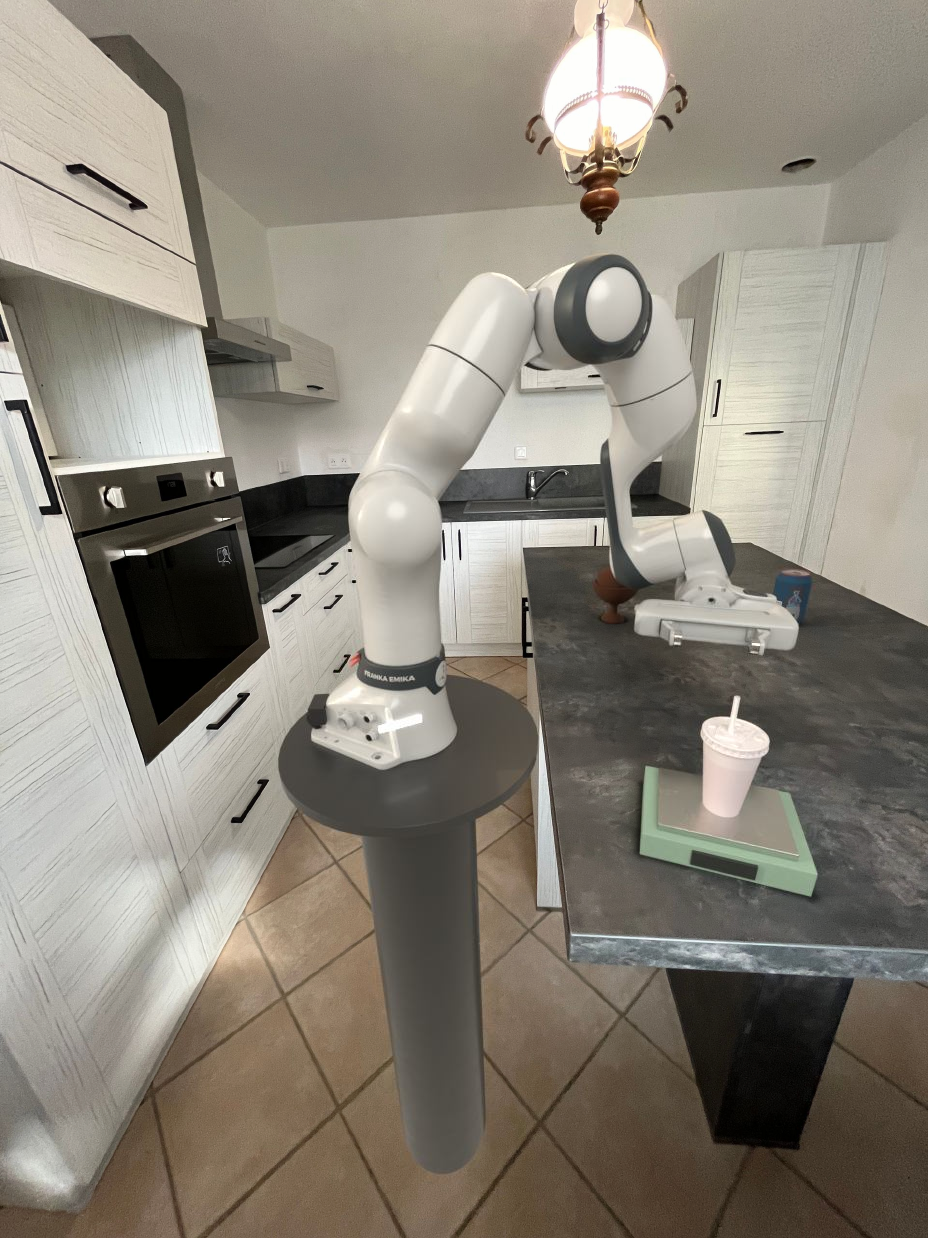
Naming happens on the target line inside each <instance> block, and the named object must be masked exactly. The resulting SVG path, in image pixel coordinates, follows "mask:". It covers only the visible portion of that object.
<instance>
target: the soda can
mask: <svg viewBox="0 0 928 1238" xmlns="http://www.w3.org/2000/svg"><path fill="white" fill-rule="evenodd" d="M811 575H812V573H811V572H810V571H808V570H804V569H799V568H783V569H781V570H780V571H779V574H777V576H776V577H775V582H774V587H773V591H772V595H774V596H775V597H776V598H777V603H776V604H778V605H780V606H782V607H784V608H785V609H787V610H788V611H789V612H790V614H791V615H792V616H793V617H794V618H795V620H796V621H797V623H798V625H800V624H801V623H802V622H803V621H804V620H805V616H806V612H807V607H808V603H809V599H810V594H811V589H812V586H813V585H812V584H813V579H812V576H811Z"/></svg>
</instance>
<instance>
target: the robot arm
mask: <svg viewBox="0 0 928 1238" xmlns="http://www.w3.org/2000/svg"><path fill="white" fill-rule="evenodd" d="M589 366H592V367H593V368H594V369H595V370H596V372H597V373H598V375H599V376H600V379H601V380H602V382H603V387H604V391H605V394H606V398H607V402H608V405H609V409H610V414H611V426H610V432H609V436H608V437H607V439H606V440H605V441H603V443H602V444H601V447H600V454H599V455H600V456H599V460H600V461H599V465H600V466H599V467H600V476H601V477H600V478H601V486H602V493H603V502H604V508H605V509H604V510H605V515H606V523H607V530H608V537H609V555H608V557H609V566H610V567H611V571H612V573H613V576H614V577H615V579H616V581H617V582H618V583H619V584H621V585H623V586H625V587H627V588H630V589H633V590H638V591H639V590H642V589H645V588H649V587H651V586H654V585H656V584H658V583H664V582H666V581H671V580H675V579H676V581H675V584H674V585H675V586H674V599H673V600H672V599H662V598H661V599H660V598H647V599H644V600H642V601H641V602H640V603H637V604H635V606H634V609H633V611H634V614H635V617H634V627H633V631H634V632H635V634H637V635H639V636H643V637H651V638H652V637H653V638H662V639H663V640H664V641H666V642H668V646H672V647H681V646H682V641H689V642H690V641H691V642H698V643H699V642H702V643H710V644H720V645H728V646H737V647H738V646H739V647H747V652H748V654H749V655H753V656H762V657H763V655H764V653H765V650H767V649H768V650H776V651H784V652H785V651H791V650H792V649H794V648H795V646H796V644H797V639H798V635H799V629H800V627H799V624H798V623H797V621H796V620H795V618H794V617H793V616H792V615H791V614H790V612H789V611H788V610H787V609H785V608H784V607H782V606H780V605H778V604H776V603H777V598H776V597H775V596H774V595H773V593H772V594H771V593H768V592H767V593H766V592H764V591H763V592H761V591H758V590H752V589H746V588H743V587H739V586H737V585H735V584H732V582H731V580H730V578H729V577H730V576H731V575H732V573H733V572H734V569H735V567H736V562H737V561H736V552H735V549H734V544H733V541H732V538H731V536H730V534H729V532H728V529H727V527H726V525H725V523H724V522H723V520H722V518H720V517H719V516H717V515H716V514H714V513H713V512H711V511H709V510H705V509H702V510H698V511H694V512H691V513H687V514H684V515H681V516H677V517H673V518H672V519H669V520H666V521H662V522H659V523H656V524H652V525H649V526H645V527H635V526H634V524H633V513H632V505H631V496H630V489H631V486H632V484H633V482H634V481H635V479H636V478H637V477H638V475H640V473H642V472H643V471H644V470H645V469H646V468H647V467H649V465H650V464H652V463H653V462H654V461H656V460H658V458H660V457H661V456H662V455H664V454H665V453H666V452H668V451H669V450H670V449H671V448H672V447H674V446H675V445H676V444H677V443H678V442H679V441H680V439H682V437H683V436H684V435H685V433H686V432H687V431H688V429H689V428H690V426H691V424H692V422H693V420H694V418H695V415H696V412H697V408H698V407H697V406H698V401H697V400H698V399H697V390H696V384H695V383H696V381H695V376H694V373H693V366H692V363H691V359H690V355H689V351H688V348H687V345H686V341H685V339H684V335H683V333H682V330H681V327H680V325H679V322H678V320H677V318H676V316H675V314H674V311H673V310H672V306H671V305H670V304H669V302H668V300H667V299H666V298H664V297H663V296H661V295H659V294H654V293H650V291H649V290H648V287H647V285H646V282H645V280H644V278H643V275H642V274H641V273H640V271H639V270H638V268H637V267H636V266H635V265H634V264H633V262H631V261H630V260H629V259H627V258H626V257H624V256H622V255H619V254H615V253H606V252H605V253H596V254H589V255H587V256H585V257H582V258H581V259H579V260H578V261H576V262H574V263H571V264H568V265H566V266H563V267H559V268H557V269H554V270H552V271H551V272H549V273H547V274H546V275H544V276H543V277H541V278H540V279H539V280H537V281H536V282H534V283H532V284H530V285H528V286H527V287H522V286H521V284H519V283H518V282H517V281H516V280H514V279H513V278H512V277H510V276H507V275H505V274H502V273H499V272H491V271H487V272H482V273H480V274H477V275H476V276H474V277H473V278H471V279H470V280H469V282H467V284H466V285H465V286H464V287H463V289H462V290H461V291H460V293H458V295H457V297H456V298H455V300H454V301H453V302H452V304H451V305H450V306H449V308H448V309H447V311H446V312H445V314H444V315H443V317H442V318H441V320H440V322H439V324H438V325H437V327H436V329H435V330H434V332H433V334H432V336H431V338H430V339H429V341H428V343H427V345H426V347H425V349H424V350H423V354H422V355H421V357H420V359H419V361H418V363H417V365H416V367H415V370H414V371H413V373H412V375H411V377H410V379H409V381H408V382H407V385H406V387H405V389H404V391H403V392H402V395H401V397H400V399H399V400H398V403H397V405H396V406H395V409H394V410H393V412H392V414H391V416H390V418H389V420H388V421H387V423H386V425H385V427H384V429H383V430H382V432H381V434H380V436H379V438H378V440H377V442H376V443H375V445H374V447H373V449H372V451H371V452H370V454H369V456H368V458H367V460H366V462H365V464H363V465H364V466H363V468H362V469H361V471H360V473H359V475H358V477H357V478H356V480H355V483H354V485H353V487H352V488H351V490H350V494H349V496H348V504H347V505H348V512H347V514H348V528H349V537H350V544H351V545H350V546H351V553H352V559H353V561H352V562H353V568H354V576H355V583H356V591H357V600H358V608H359V615H360V624H361V625H360V626H361V633H362V641H363V647H362V648H360V649H359V650H357V652H356V655H354V656H352V657H351V658H350V659H349V660H348V661H349V662H351V663H350V664H349V667H350V668H352V667H354V666H355V665H357V664H358V665H357V669H356V670H355V671H354V672H353V673H352V674H350V675H349V676H348V677H347V678H346V679H344V680H343V681H342V682H341V683H340V684H338V685H337V686H336V687H335V688H334V689H333V690H332V691H331V692H330V693H317V694H316V693H315V694H314V695H313V697H312V698H311V701H310V703H309V706H308V708H307V711H306V712H307V715H306V719H307V721H308V723H309V724H310V725H311V726H312V727H313V729H312V732H311V740H312V741H313V742H315V743H317V744H320V745H322V746H324V747H327V748H329V749H331V750H334V751H336V752H339V753H341V754H343V755H346V756H348V757H351V758H353V759H355V760H358V761H360V762H363V763H365V764H367V765H370V766H372V767H374V768H377V769H380V770H386V769H389V768H392V767H394V766H397V765H399V764H401V763H403V762H407V761H413V760H418V759H422V758H426V757H429V756H432V755H434V754H436V753H438V752H440V751H442V750H443V749H445V748H446V747H447V746H449V745H450V744H451V742H452V741H453V740H454V738H455V736H456V734H457V725H456V723H455V721H454V718H453V715H452V712H451V709H450V705H449V701H448V697H447V692H446V685H445V684H446V675H448V674H447V673H448V672H447V669H448V668H447V660H446V650H445V645H444V644H443V642H442V629H441V628H442V627H441V609H440V582H441V573H442V572H441V570H442V550H443V549H442V546H443V545H442V543H443V542H442V541H443V540H442V539H443V515H442V510H441V506H440V504H439V501H440V499H441V498H442V497H443V495H444V493H445V492H446V490H447V489H448V488H449V486H450V485H451V483H452V482H453V480H454V479H455V478H456V476H457V475H458V474H459V473H460V471H461V470H462V469H463V468H464V466H465V465H466V464H467V463H468V462H469V461H470V460H471V459H472V458H473V456H474V454H475V452H476V451H477V449H478V448H479V446H480V444H481V442H482V439H484V436H485V434H486V432H487V431H488V429H489V427H490V425H491V423H492V422H493V420H494V418H495V416H496V414H497V412H498V410H499V409H500V407H501V406H502V403H503V401H504V400H505V398H506V396H507V394H508V392H509V390H510V389H511V386H512V385H513V382H514V380H515V378H516V376H517V375H518V374H519V373H520V371H522V368H523V367H526V368H528V369H531V370H534V371H541V372H549V371H553V370H554V371H555V370H556V371H557V370H558V371H572V370H576V369H582V368H585V367H589Z"/></svg>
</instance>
